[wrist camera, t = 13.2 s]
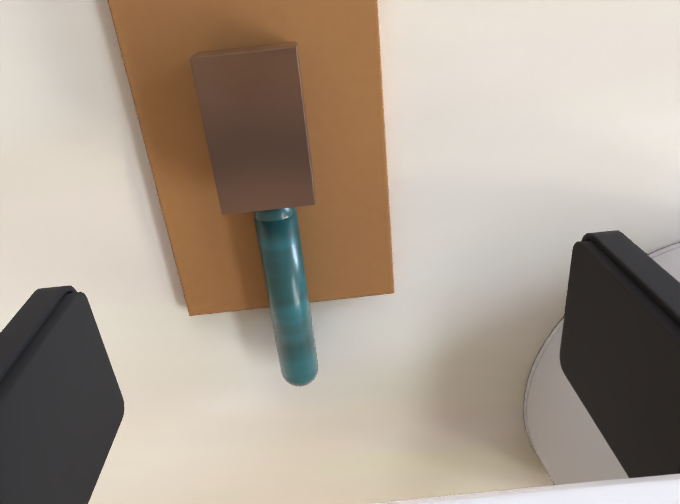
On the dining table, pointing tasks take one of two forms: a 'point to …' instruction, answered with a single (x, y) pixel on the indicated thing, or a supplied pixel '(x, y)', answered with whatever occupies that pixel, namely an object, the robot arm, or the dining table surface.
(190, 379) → the dining table surface
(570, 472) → the kettle
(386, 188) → the cork mat
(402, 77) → the dining table surface
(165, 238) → the dining table surface
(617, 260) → the robot arm
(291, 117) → the brush
